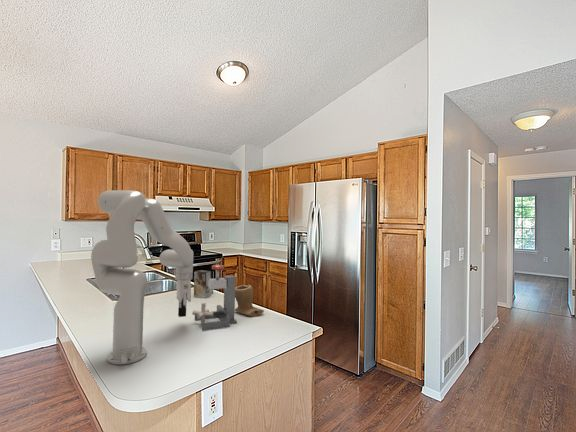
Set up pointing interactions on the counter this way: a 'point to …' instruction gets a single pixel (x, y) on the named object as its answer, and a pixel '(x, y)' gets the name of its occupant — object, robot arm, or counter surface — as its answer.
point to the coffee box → (201, 283)
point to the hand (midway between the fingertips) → (182, 316)
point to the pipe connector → (203, 313)
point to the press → (223, 313)
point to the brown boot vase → (246, 301)
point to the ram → (217, 279)
